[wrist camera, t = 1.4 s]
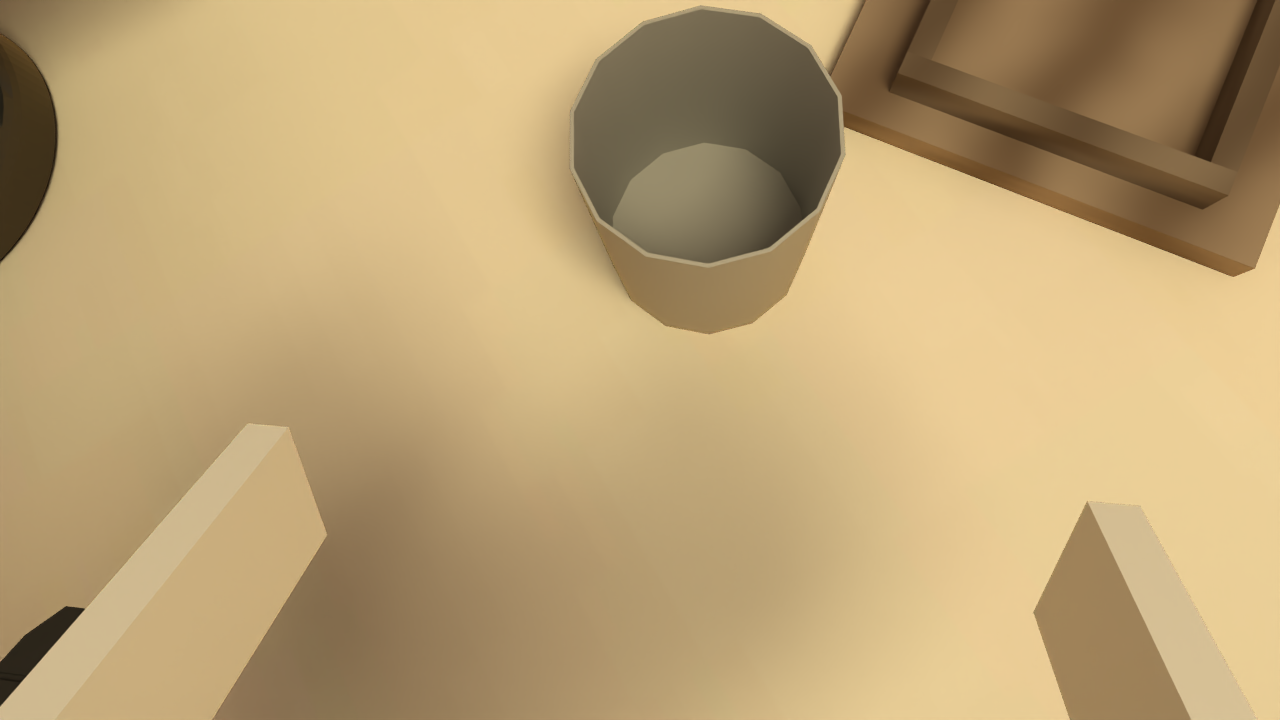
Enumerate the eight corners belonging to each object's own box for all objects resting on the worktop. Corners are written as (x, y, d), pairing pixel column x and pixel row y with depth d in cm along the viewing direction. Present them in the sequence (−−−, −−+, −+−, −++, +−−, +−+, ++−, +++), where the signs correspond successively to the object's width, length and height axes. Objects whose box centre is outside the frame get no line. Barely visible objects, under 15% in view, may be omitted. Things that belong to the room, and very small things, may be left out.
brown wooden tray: (815, 115, 33) (824, 83, 30) (954, -185, 35) (975, -240, 32) (1233, 276, 30) (1283, 256, 27) (1362, -58, 32) (1422, -107, 29)
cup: (580, 200, 33) (525, 81, 23) (745, 115, 33) (760, -39, 23) (665, 367, 32) (645, 315, 22) (839, 278, 32) (897, 187, 22)
